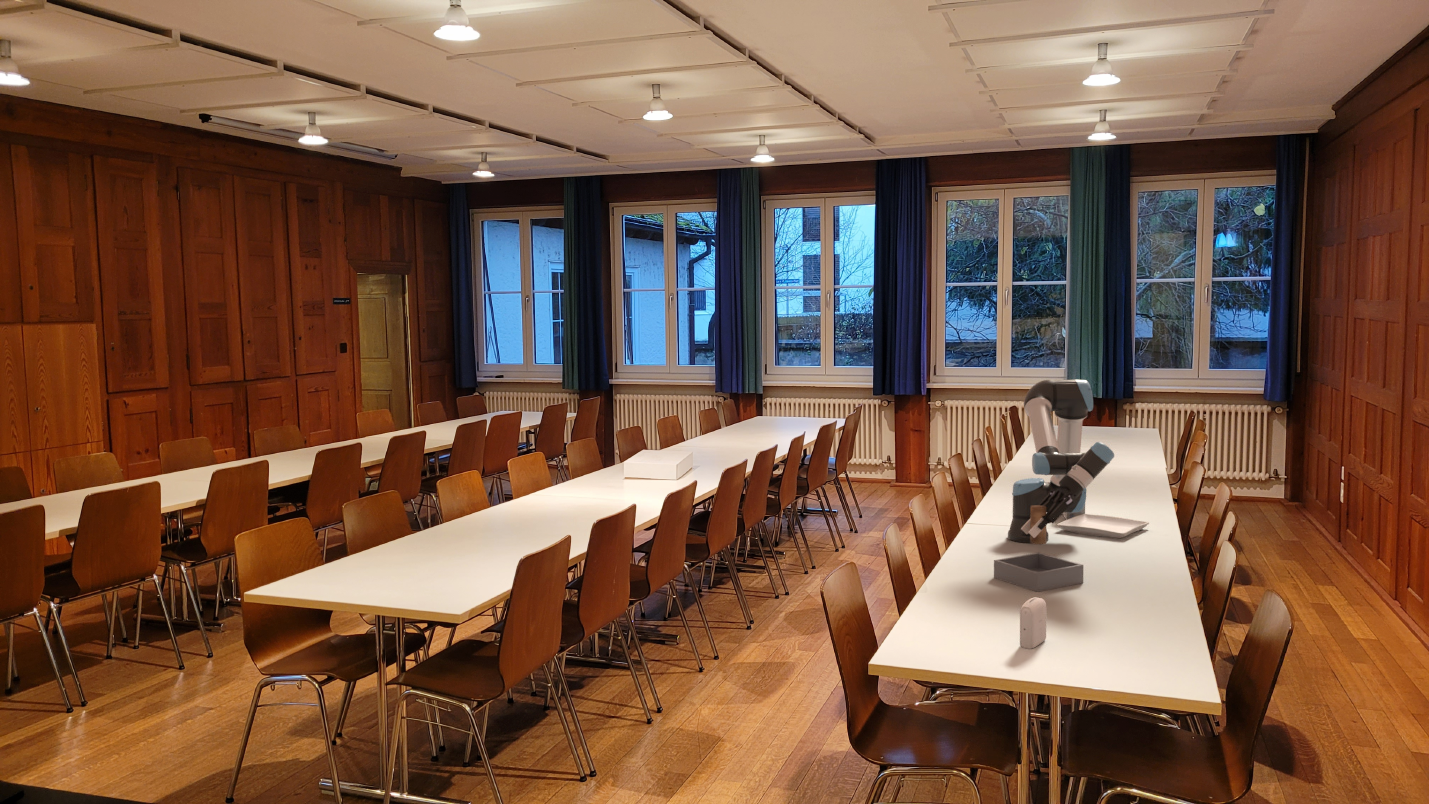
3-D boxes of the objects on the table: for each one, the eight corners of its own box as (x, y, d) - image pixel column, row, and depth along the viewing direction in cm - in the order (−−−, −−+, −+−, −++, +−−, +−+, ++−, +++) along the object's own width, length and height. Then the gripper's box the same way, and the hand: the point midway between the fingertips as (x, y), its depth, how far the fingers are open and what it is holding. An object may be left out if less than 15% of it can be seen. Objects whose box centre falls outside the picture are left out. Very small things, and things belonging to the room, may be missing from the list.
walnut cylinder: (1027, 541, 340) (1028, 505, 339) (1042, 540, 341) (1042, 504, 340) (1034, 544, 335) (1034, 508, 334) (1048, 543, 336) (1049, 507, 335)
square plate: (1124, 542, 390) (1124, 532, 390) (1055, 533, 409) (1055, 523, 409) (1149, 529, 410) (1150, 520, 410) (1083, 521, 429) (1083, 512, 428)
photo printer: (1033, 650, 272) (1033, 604, 271) (1017, 647, 275) (1017, 602, 274) (1048, 639, 280) (1048, 595, 279) (1033, 637, 283) (1033, 593, 282)
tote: (993, 577, 344) (993, 560, 343) (1038, 569, 353) (1038, 552, 352) (1037, 591, 326) (1037, 573, 325) (1083, 582, 335) (1083, 564, 334)
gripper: (1055, 470, 346) (1008, 520, 346) (1080, 478, 328) (1031, 531, 328) (1070, 484, 347) (1023, 535, 347) (1096, 494, 330) (1047, 546, 329)
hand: (1027, 533), depth 337 cm, fingers closed on walnut cylinder, 5 cm apart
